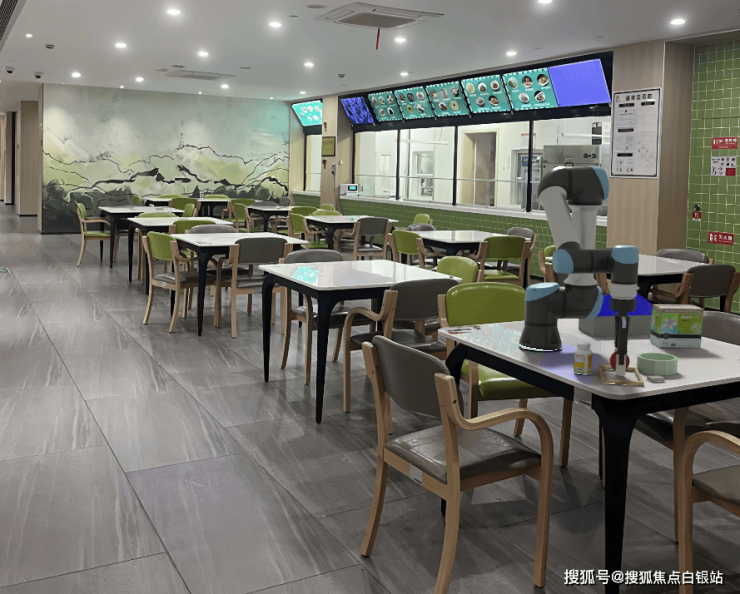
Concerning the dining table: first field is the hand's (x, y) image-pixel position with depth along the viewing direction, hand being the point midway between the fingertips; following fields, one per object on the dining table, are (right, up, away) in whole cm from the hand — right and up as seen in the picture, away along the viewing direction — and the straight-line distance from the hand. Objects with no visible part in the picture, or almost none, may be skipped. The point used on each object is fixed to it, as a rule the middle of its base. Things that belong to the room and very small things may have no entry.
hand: (619, 371), depth 221 cm
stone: (+9, -3, -5) cm, 11 cm away
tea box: (+36, +5, +44) cm, 57 cm away
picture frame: (0, -2, 0) cm, 2 cm away
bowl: (+14, 0, +7) cm, 16 cm away
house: (+22, +8, +70) cm, 74 cm away
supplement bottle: (-10, -1, +5) cm, 11 cm away
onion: (0, -1, 0) cm, 1 cm away
